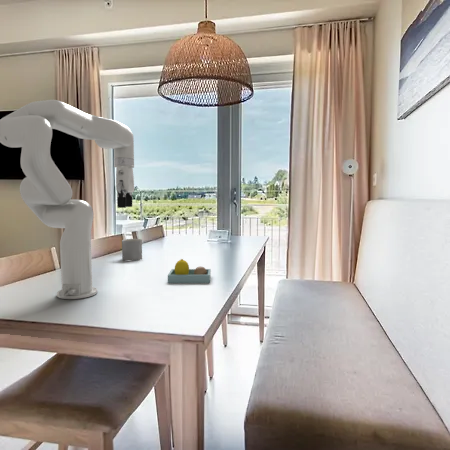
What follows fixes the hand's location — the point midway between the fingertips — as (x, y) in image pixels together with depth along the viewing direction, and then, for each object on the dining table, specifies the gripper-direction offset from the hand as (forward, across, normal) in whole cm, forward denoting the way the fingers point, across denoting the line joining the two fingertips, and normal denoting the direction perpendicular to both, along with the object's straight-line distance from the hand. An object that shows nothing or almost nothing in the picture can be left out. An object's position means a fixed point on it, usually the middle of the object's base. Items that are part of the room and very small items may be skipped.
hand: (125, 207), depth 146 cm
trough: (+28, -6, -26) cm, 39 cm away
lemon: (+28, -6, -23) cm, 37 cm away
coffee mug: (+28, +44, +8) cm, 53 cm away
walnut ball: (+28, -6, -30) cm, 41 cm away
